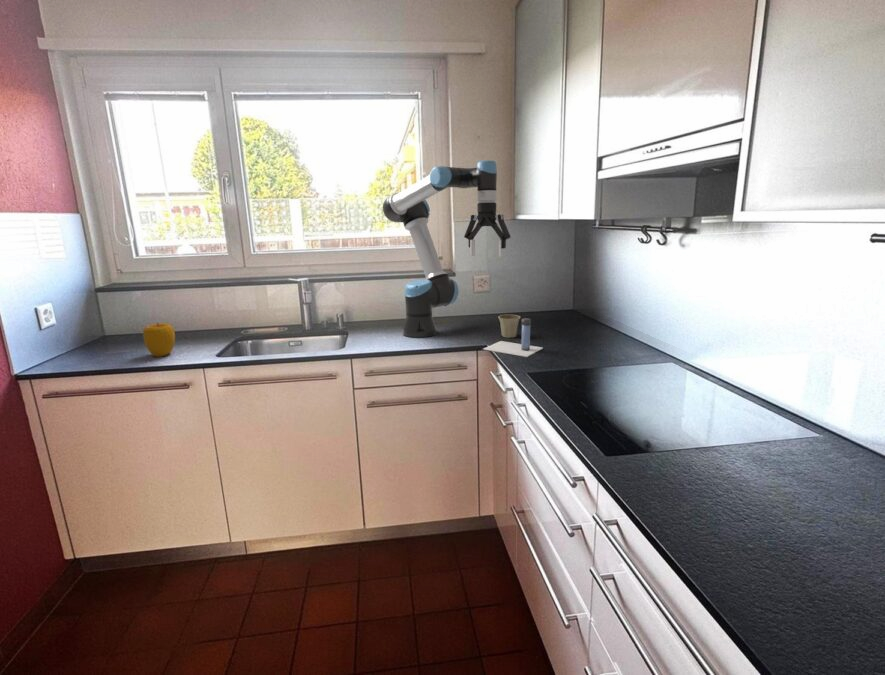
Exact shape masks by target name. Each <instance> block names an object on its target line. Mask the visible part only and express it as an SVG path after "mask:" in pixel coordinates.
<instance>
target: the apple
mask: <svg viewBox="0 0 885 675" xmlns="http://www.w3.org/2000/svg"><path fill="white" fill-rule="evenodd" d="M142 334H143V341H144V343H145V344H144V345H145V346H146V348H147V350H148V352H149V353H150V354H151V355H152V356H154V357H157V358H161V357H164V356H167V355H169V354H171V353H172V351H173V349H174V346H175V341H176V333H175V328H174V326H173V325H171V323H170V324H169V323H165V322H164V323H163V322H162V323H161V322H160V323H158V322H157V323H153V324H149V325H147V326H146V327H144V329H143V332H142Z"/></svg>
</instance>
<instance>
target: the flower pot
mask: <svg viewBox="0 0 885 675" xmlns="http://www.w3.org/2000/svg"><path fill="white" fill-rule="evenodd" d="M520 319H522V318H521V316H520V315H517V314H501V315H498V320H499V323H500V332H501V333H500V334H501V336H502V337H503V338H509V339H510V338H516V337H517V332H518V327H519V321H520Z"/></svg>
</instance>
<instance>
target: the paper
mask: <svg viewBox="0 0 885 675" xmlns="http://www.w3.org/2000/svg"><path fill="white" fill-rule="evenodd" d="M543 349H544V347H542V346H541V347H540V346H535V345H530V350H528V351H524V350H521V343H516V342H515V343H514V342H510V341H503V340H500V341H498V342H495V343H493V344H491V345H489V346H486V347H483V348H482V350H484V351H489V352H495V353H502V354H507V355H514V356H519V357H524V358H528V357H530V356H532V355H534V354H536V353H537V352H539V351H541V350H543Z"/></svg>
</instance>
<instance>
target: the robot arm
mask: <svg viewBox="0 0 885 675" xmlns="http://www.w3.org/2000/svg"><path fill="white" fill-rule="evenodd" d="M497 166H498V165H497V162H496V161H494V160H489V159H487V160H479V161H478V162H477V166H476V167H453V166H445V165H441V166H434V167H433V168H432V169H431V171H430V173H429V175H427V176H425V177H423V179H421V180H419V181H417V182H415V183H414V184H412V185H410V186H409V187H407V188H405V189H403V190H402V191H400V192H394V193H392V194H391V195H389V196H387V197H386V198H385V199H384V202H383V204H382V212H383V214H384V216H385V218H386V219H387V220H388V221H390V222H393V223H403V227H404V228H405V230H407V231H409V234H410V236H411V239H412V242H413V245H414V247H415V251H416V253H417V256H418V258H419V262H420V264H421V268H422V270H423V274H424V276H425V279H419V280H418V279H416V280H413V281H410V282H408V283H406V285H405V287H404V289H405V290H404V299H405V319H404V324H403V328H402V335H404V336H405V337H408V338H427V337H432V336H435V335H437V327H436V324H435V321H434V318H433V309H434V308H440V307H448V306H450V305H452V304H454V303H455V302H456V301H457V299H458V296H459V286H458V284H457V281H455V280H454V279H451V278H450V276H449V273H447V272H445V271H444V270H443V267H442V264H441V261H440V258H439V255H438V253H437V250H436V247H435V244H434V242H433V238H432V235H431V233H430V230H429V228H428V223H429V217H430V212H431V209H430V208H431V207H430V205H429V203H428V201H427V199H430V197H432V196H435V195H437V194H438V193H441V192H442V191H444V190H445V189H447V188H458V189H471V188H477V202H478V203H477V205H476V206H477V215H476V214H471V215H470V220H469V223H468V226H467V229H466V230H465V233H464V236H463V238H465V239H467V240H468V248H469V256H470V257H475V256H476V239H475V237H476V235H478V233H479V231H480V229H481V228H483V227H491V228H492V230H494V232H495V233H496V234H497V236H498V238H499V240H498V258H504V257H505V249H506V247H507V245H506V244H507V240H508V239H511V234H510V232H509V229H508V227H507V224H506V222H505V220H504V214H498V215H497V202H496V201H497V198H498V197H497V192H498V191H497V179H498V178H497V177H498V167H497ZM496 220H497V221H496ZM497 222H498V223H497ZM475 224H476V225H475Z"/></svg>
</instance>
